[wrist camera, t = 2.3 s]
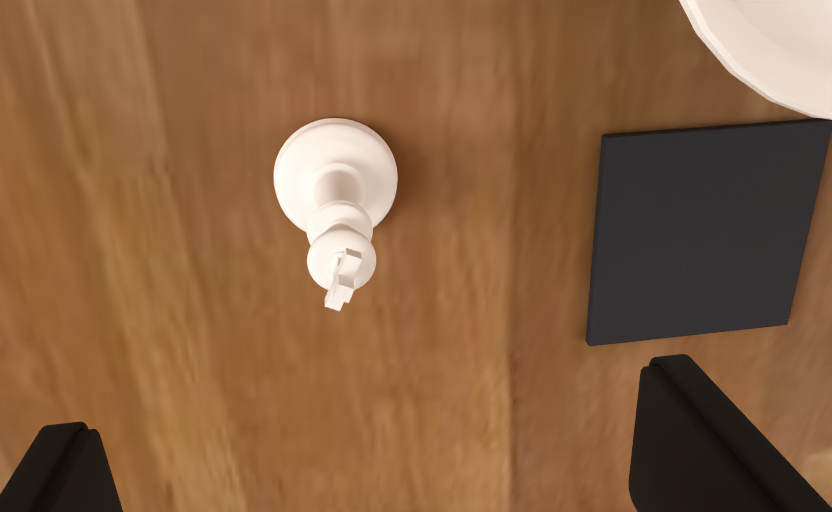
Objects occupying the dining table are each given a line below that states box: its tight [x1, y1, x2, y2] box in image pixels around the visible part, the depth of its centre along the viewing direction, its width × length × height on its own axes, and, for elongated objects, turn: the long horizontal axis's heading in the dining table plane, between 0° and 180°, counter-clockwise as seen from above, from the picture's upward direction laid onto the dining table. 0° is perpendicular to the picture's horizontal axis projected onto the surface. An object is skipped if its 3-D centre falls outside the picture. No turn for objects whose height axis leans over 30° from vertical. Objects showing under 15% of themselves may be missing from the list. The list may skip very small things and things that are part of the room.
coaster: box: [586, 118, 832, 346], centre depth 29 cm, size 10×10×1 cm
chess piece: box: [274, 118, 398, 311], centre depth 22 cm, size 5×5×10 cm
